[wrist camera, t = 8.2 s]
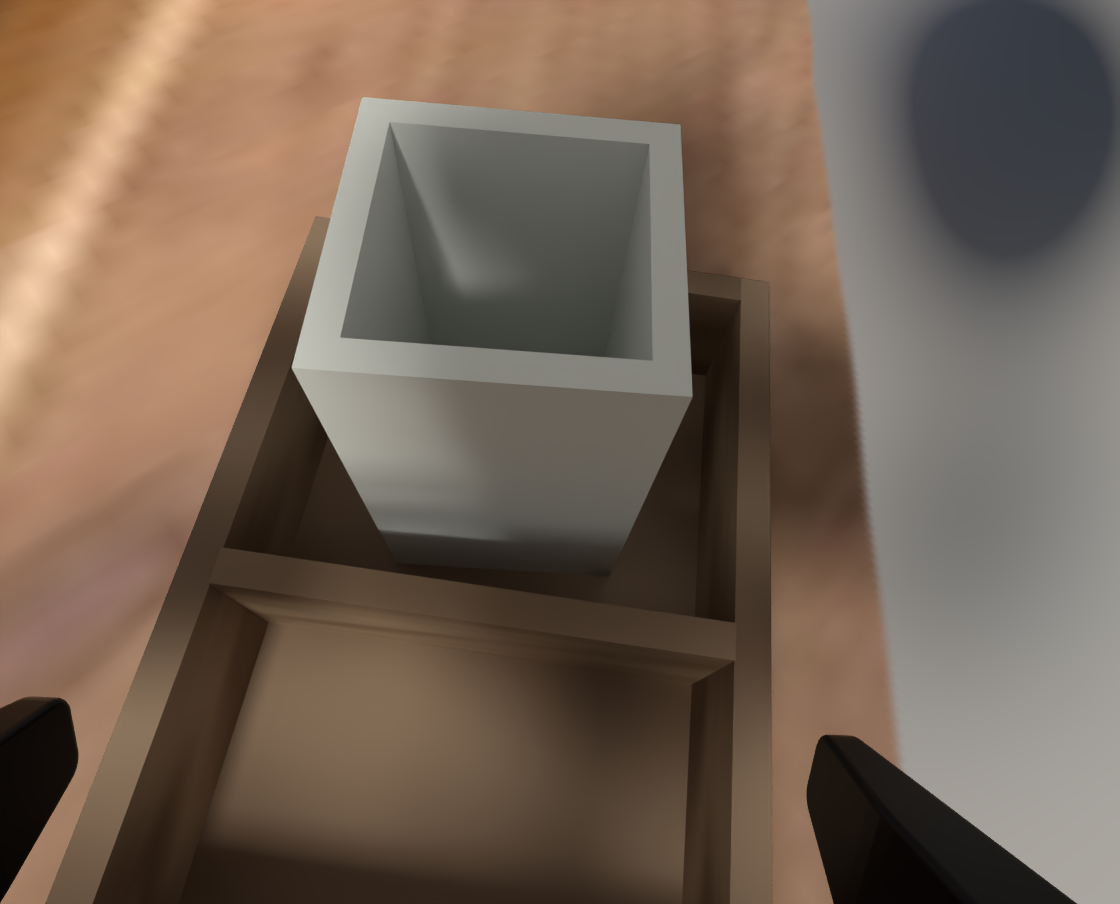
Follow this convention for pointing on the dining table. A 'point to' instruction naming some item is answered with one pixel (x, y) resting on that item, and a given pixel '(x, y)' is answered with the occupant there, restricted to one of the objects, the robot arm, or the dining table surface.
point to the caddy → (502, 330)
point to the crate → (452, 681)
